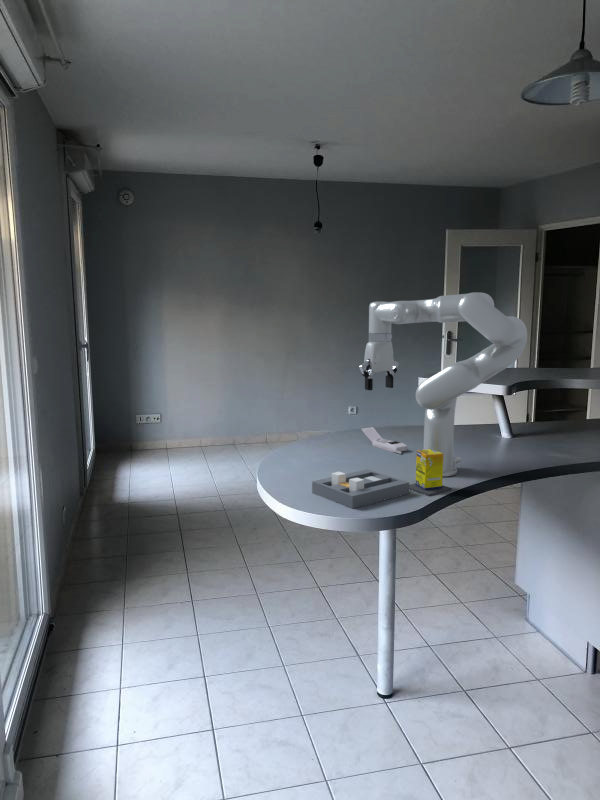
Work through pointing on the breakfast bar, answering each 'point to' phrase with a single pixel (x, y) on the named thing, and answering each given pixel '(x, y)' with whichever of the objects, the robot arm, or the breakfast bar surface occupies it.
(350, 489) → the switch
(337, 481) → the switch
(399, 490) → the grey compartment tray
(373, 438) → the mobile phone
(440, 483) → the supplement box
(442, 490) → the mat
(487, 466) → the breakfast bar surface
